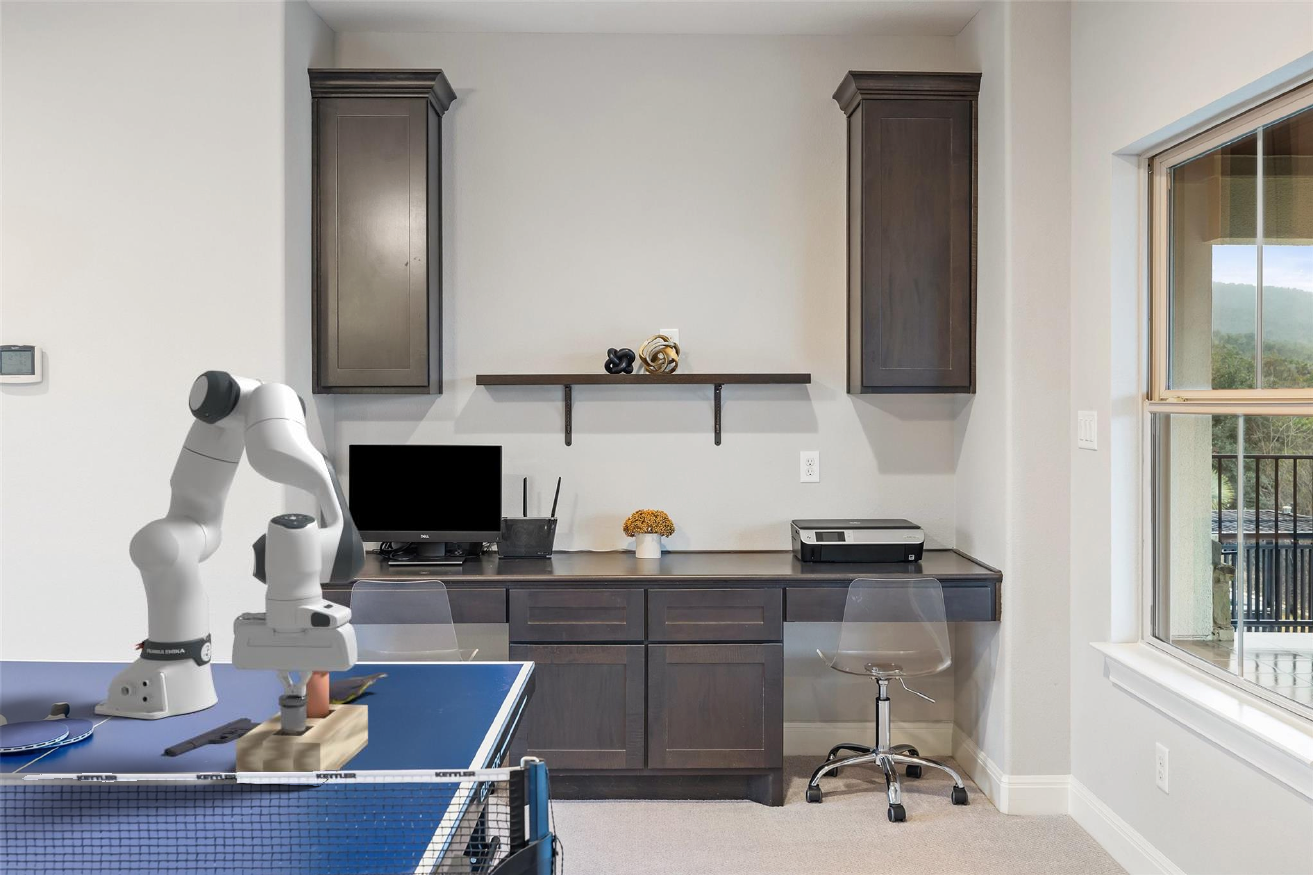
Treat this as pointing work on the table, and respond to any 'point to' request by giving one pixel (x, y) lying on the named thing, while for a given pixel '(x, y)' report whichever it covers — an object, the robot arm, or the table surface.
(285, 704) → the metal plug
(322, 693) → the rust plug
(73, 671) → the table surface
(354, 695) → the bird model
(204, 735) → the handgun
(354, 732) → the beech block
